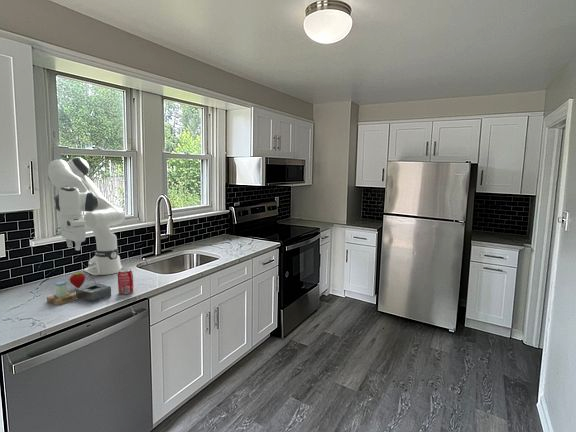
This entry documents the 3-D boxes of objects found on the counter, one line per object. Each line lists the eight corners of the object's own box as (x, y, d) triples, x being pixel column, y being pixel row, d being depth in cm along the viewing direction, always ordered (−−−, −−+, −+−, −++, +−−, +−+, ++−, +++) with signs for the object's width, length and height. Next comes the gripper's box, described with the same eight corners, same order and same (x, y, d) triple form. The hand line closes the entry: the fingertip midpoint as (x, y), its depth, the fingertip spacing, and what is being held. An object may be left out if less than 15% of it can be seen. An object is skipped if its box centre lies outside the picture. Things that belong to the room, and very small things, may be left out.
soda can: (128, 289, 176) (127, 267, 175) (136, 291, 173) (135, 269, 171) (115, 293, 170) (114, 270, 169) (123, 296, 167) (122, 273, 165)
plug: (56, 301, 159) (55, 283, 157) (63, 299, 161) (62, 281, 160) (60, 302, 157) (59, 284, 156) (67, 300, 160) (66, 282, 159)
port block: (76, 298, 162) (75, 288, 162) (95, 291, 171) (95, 282, 171) (91, 303, 157) (91, 292, 157) (111, 296, 166) (110, 286, 165)
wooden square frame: (47, 302, 157) (46, 297, 157) (65, 296, 165) (65, 291, 165) (57, 305, 154) (57, 300, 153) (76, 299, 161) (76, 294, 161)
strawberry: (67, 289, 174) (66, 271, 172) (81, 284, 181) (79, 267, 179) (75, 291, 172) (74, 272, 170) (88, 286, 179) (87, 268, 177)
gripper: (56, 219, 163) (58, 246, 165) (72, 223, 151) (74, 253, 153) (70, 217, 168) (72, 244, 170) (87, 221, 156) (89, 250, 157)
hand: (73, 248), depth 161 cm, fingers open, 8 cm apart
